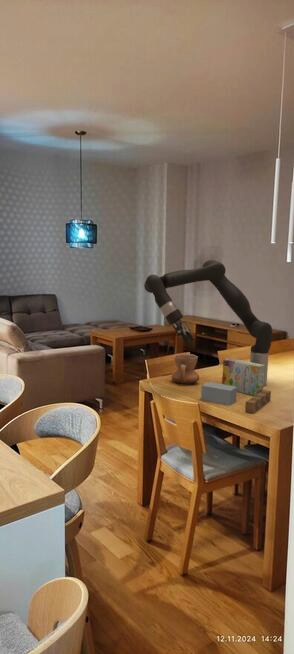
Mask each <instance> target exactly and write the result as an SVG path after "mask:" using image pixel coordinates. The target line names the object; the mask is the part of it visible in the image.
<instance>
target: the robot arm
mask: <svg viewBox="0 0 294 654" xmlns="http://www.w3.org/2000/svg"><path fill="white" fill-rule="evenodd" d="M204 281H205V282H206V281H208V282H210V283H211V284H212V285H213V286H214V287H215V289H216V290H217V291H218V292H219V295H221V297H222V299H224V301H225V302H226V303H227V306H229V308H230V309H231V310H232V312H234V313H235V315H236V317H238V318H239V319H240V321H241V322H242V324H243V325H244V327H245V328H246V330H247V332H248V333H249V335H250V336H251V337H253V338H255V343H254V344H253V345H251V347H250V354H249V355H250V358H249V362H252V363H257V364H262V365H265V369H264V382H263V387H265V386H267V385H268V383H267V382H268V381H267V380H268V371H269V369H268V367H269V353H270V349H271V346H272V340H273V339H272V338H273V327H272V325H271V324H270V323H269V322H265V321H261V320H259V319H258V318H257V316H256V315H255V314H254V313H253V311H252V309H251V304H250V302H249V299H248V298H247V297H246V295H245V294H244V292H242V291H241V289H240V288H239V287H238V286H236V285H235V284H234V283H233V282H231V280H229V279H228V278H227V277H226V267H225V265H224V264H223V263H222V262H220V261H217V260H214V259H210V260H206V261H205V262H204V263H202V267H198V268H194V269H181V270H176V271H171V272H167V273H164V274H163V275H161V276H159V275H157V274H149V275H148V276H147V277H146V280H145V282H144V284H143V285H144V290H145V292H147V293H149V294H152V295H153V297H154V301H155V303H156V305H157V307H158V308H159V310H160V311H161V314H162V316H163V317H164V318H165V320H166V321H167V324H168V325H170V326H172V328H173V330H175V333H176V335H178V337H181V339H182V340H183V341H184V343H185V344H188V343H191V342H193V341H195V337H194V336H193V335H192V333H191V329H190V327H189V326H188V324H187V322H185V321H184V320H183V321H182V319H184V318H183V317H184V315H183V313H182V312H181V310H180V309H179V308H178V306H177V304H176V303H175V302H174V301H173V299H172V298H171V296H170V295H169V293H168V291H167V289H169V288H173V287H174V288H175V287H178V286H183V285H188V284H191V283H192V284H193V283H197V282H204Z"/></svg>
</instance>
